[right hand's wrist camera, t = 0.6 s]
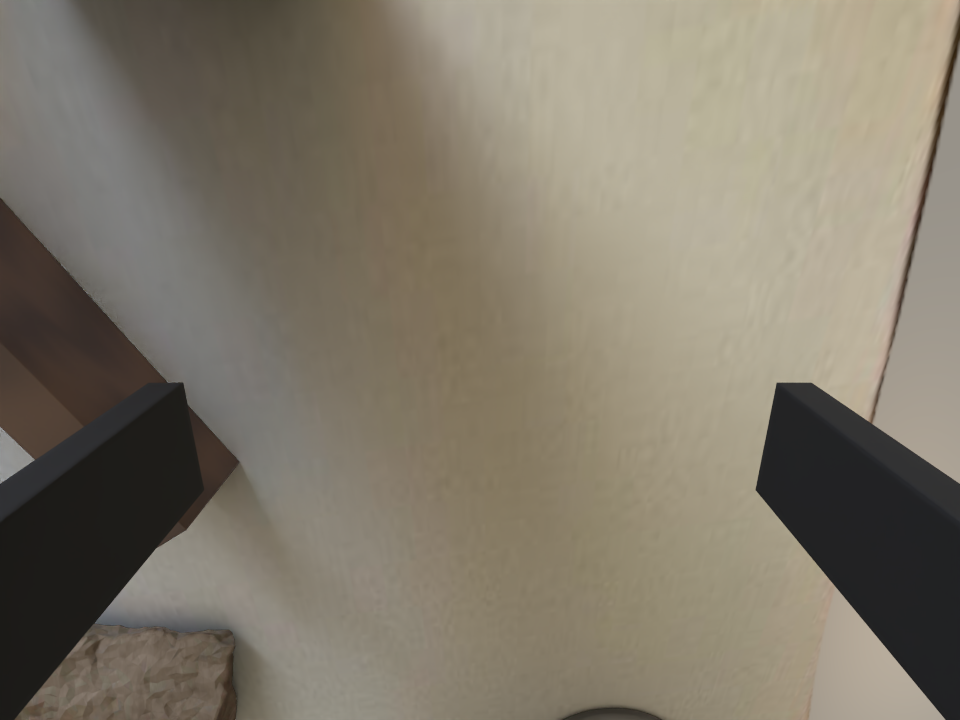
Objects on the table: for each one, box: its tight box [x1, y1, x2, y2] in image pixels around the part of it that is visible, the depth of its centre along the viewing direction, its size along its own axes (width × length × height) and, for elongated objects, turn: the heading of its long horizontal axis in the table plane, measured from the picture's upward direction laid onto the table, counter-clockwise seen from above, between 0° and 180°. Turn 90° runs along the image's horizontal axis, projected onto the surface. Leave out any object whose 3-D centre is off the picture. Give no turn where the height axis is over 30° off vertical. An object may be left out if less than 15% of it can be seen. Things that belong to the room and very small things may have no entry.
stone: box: [15, 624, 237, 720], centre depth 46 cm, size 21×15×6 cm
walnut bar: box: [0, 199, 239, 548], centre depth 34 cm, size 28×4×8 cm, turn 33°
